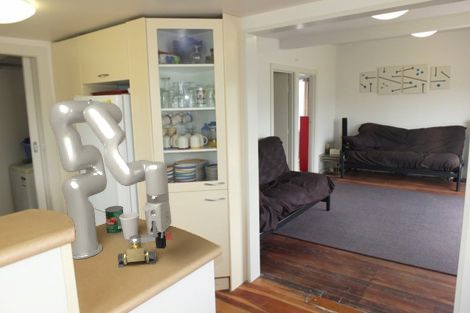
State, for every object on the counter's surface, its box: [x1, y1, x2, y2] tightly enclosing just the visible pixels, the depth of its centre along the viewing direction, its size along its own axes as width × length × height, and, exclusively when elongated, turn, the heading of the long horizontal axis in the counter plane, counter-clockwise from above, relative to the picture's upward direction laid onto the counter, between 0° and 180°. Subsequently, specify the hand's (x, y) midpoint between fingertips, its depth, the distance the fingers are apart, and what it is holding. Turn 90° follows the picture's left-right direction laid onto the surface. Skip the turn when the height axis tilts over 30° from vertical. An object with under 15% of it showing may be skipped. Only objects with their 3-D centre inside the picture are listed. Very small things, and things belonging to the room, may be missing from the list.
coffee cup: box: [142, 202, 153, 235], centre depth 149 cm, size 10×10×15 cm
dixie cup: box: [119, 212, 140, 240], centre depth 148 cm, size 8×8×10 cm
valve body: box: [117, 242, 157, 268], centre depth 124 cm, size 13×6×8 cm, turn 99°
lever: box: [128, 231, 173, 245], centre depth 124 cm, size 4×15×2 cm, turn 103°
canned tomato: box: [104, 205, 124, 235], centre depth 156 cm, size 8×8×11 cm
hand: (161, 247), depth 119 cm, fingers closed
